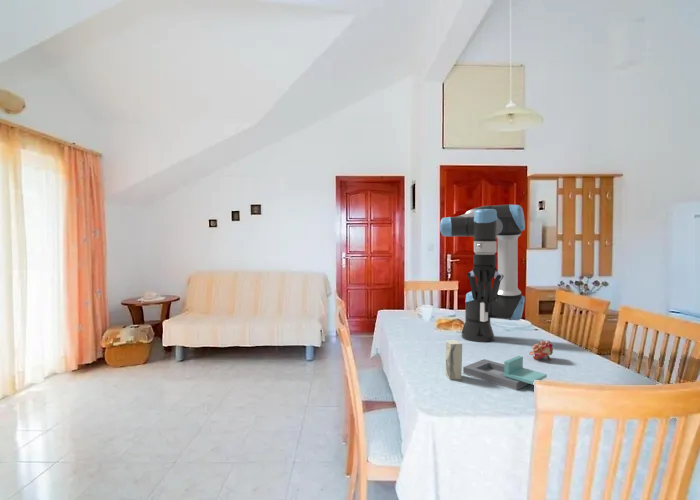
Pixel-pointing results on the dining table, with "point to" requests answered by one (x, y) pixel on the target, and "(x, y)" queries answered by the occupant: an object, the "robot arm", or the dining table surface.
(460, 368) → the box
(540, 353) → the flower
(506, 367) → the teal angle bracket
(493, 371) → the socket block
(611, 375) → the dining table surface
